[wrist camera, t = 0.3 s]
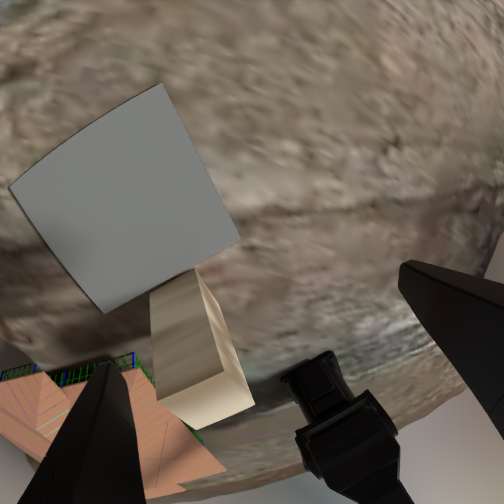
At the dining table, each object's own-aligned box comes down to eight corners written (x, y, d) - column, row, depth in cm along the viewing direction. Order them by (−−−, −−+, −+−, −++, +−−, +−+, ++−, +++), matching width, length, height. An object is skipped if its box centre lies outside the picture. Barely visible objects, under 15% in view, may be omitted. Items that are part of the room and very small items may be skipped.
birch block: (218, 304, 25) (255, 404, 16) (176, 326, 25) (196, 430, 16) (194, 268, 23) (224, 371, 14) (149, 292, 23) (156, 401, 14)
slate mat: (240, 236, 23) (241, 239, 22) (105, 311, 22) (104, 314, 22) (161, 83, 16) (161, 82, 16) (11, 185, 16) (9, 186, 15)
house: (123, 316, 23) (122, 397, 16) (229, 461, 40) (244, 504, 34) (-40, 367, 20) (-59, 424, 13) (106, 485, 37) (111, 525, 30)
